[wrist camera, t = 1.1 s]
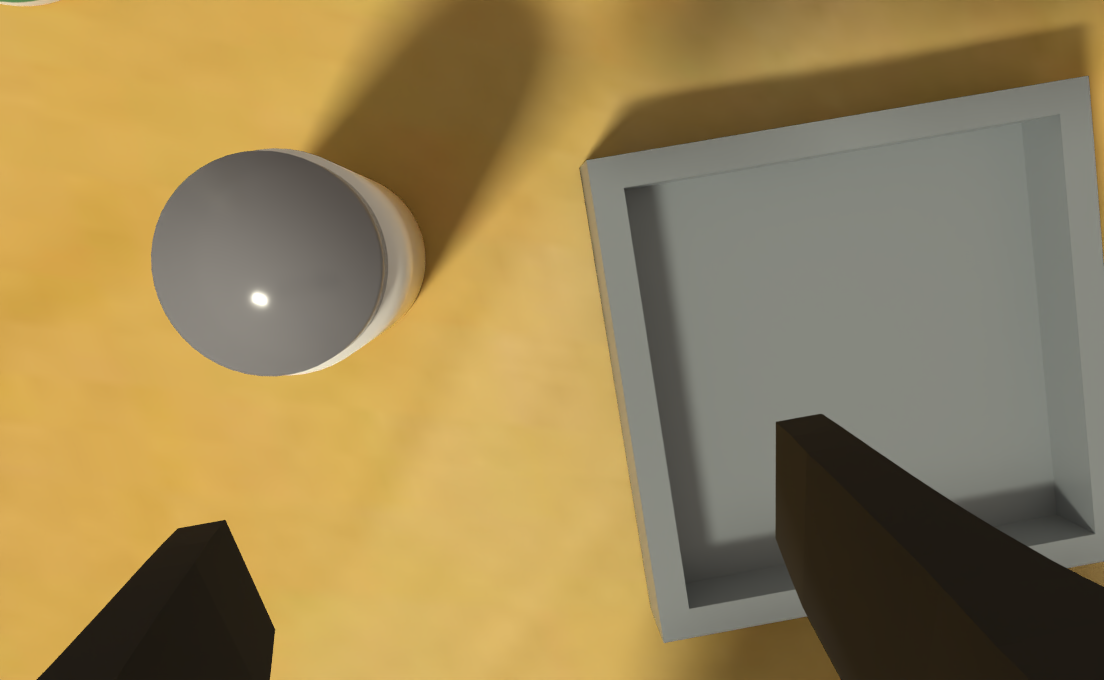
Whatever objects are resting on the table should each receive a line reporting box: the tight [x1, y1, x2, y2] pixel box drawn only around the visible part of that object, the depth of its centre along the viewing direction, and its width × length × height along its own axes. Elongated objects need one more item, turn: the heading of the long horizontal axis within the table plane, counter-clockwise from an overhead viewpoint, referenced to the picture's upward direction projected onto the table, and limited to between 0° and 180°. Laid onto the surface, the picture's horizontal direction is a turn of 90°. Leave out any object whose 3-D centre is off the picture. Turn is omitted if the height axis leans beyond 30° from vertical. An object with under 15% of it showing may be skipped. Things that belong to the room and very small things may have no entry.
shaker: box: [151, 149, 426, 376], centre depth 18 cm, size 4×4×6 cm
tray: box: [580, 76, 1104, 643], centre depth 21 cm, size 13×13×2 cm
